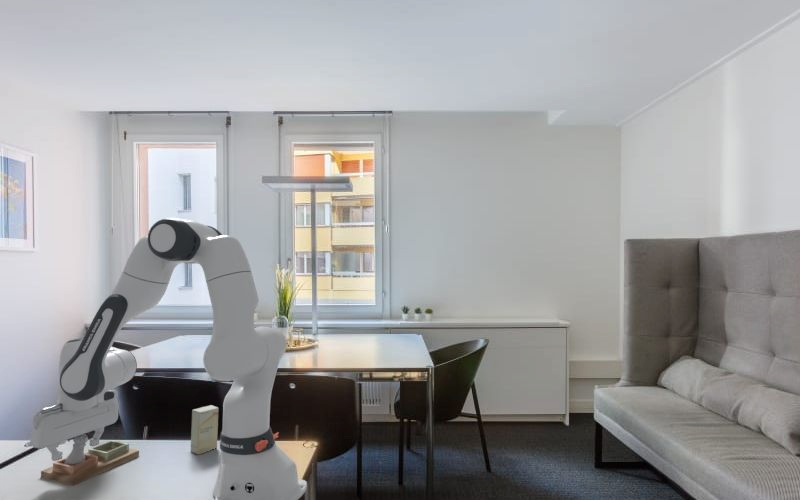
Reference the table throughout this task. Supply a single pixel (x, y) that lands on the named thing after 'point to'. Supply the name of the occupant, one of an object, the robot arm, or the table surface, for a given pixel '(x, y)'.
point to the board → (91, 463)
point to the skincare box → (204, 429)
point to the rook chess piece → (77, 451)
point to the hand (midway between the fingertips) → (76, 452)
